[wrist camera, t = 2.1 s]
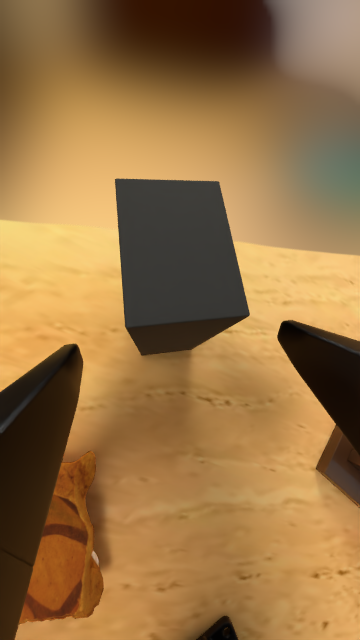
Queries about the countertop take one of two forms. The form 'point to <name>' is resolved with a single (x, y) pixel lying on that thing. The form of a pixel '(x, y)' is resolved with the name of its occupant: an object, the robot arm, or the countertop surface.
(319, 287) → the countertop surface
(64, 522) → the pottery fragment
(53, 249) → the countertop surface
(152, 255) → the back pad
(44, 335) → the countertop surface
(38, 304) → the countertop surface
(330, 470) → the seat base
